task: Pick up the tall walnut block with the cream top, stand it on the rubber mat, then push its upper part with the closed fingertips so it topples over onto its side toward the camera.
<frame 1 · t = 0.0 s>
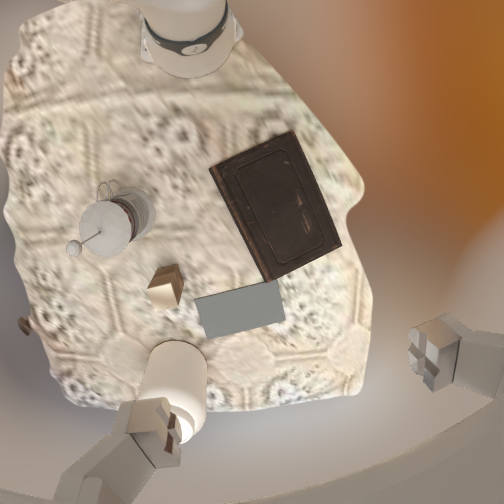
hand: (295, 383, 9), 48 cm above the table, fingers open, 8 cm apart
white lidded jar: (177, 363, 63), on the table
rubber mat: (240, 310, 61), on the table
walnut block: (170, 276, 58), on the table
hardcover book: (277, 206, 57), on the table
french press: (128, 209, 54), on the table
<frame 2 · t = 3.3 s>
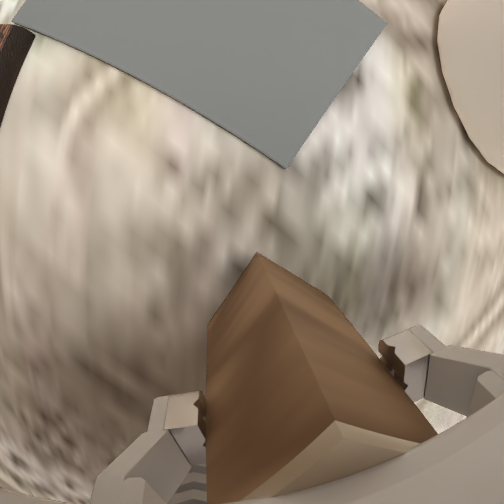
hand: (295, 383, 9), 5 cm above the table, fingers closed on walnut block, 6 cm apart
white lidded jar: (500, 83, 12), on the table
walnut block: (269, 311, 14), on the table, touching gripper
french press: (200, 481, 18), on the table
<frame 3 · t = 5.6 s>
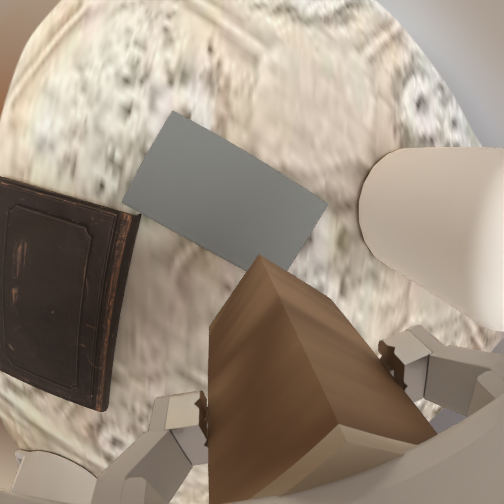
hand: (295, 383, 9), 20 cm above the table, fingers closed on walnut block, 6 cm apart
white lidded jar: (405, 208, 30), on the table
rubber mat: (225, 200, 27), on the table
walnut block: (270, 313, 14), point 15 cm above the table, touching gripper
hardcover book: (52, 299, 28), on the table
when the fingers open (6 cm above the table, at t = 7.8 s): walnut block stays where it is, resting on rubber mat.
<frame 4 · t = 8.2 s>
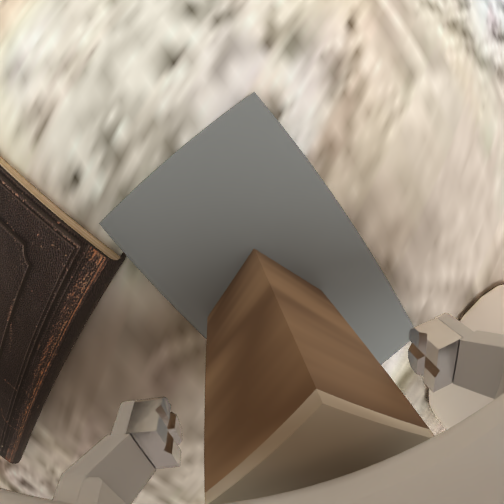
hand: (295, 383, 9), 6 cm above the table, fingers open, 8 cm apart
white lidded jar: (482, 351, 19), on the table
rubber mat: (282, 287, 15), on the table
walnut block: (265, 304, 15), resting on rubber mat
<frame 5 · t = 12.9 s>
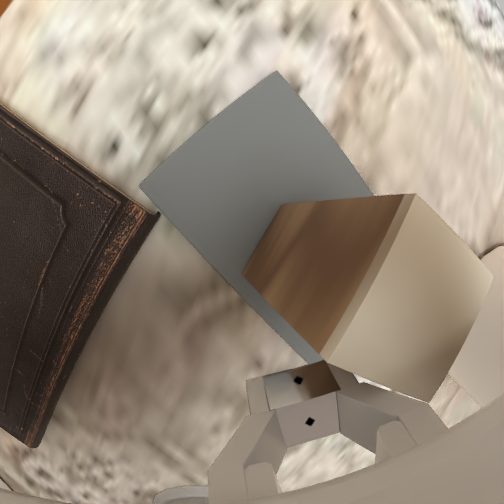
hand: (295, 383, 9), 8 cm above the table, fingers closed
white lidded jar: (488, 312, 21), on the table
rubber mat: (306, 242, 17), on the table
walnut block: (294, 258, 16), point 1 cm above the table, tilted 10°, touching rubber mat
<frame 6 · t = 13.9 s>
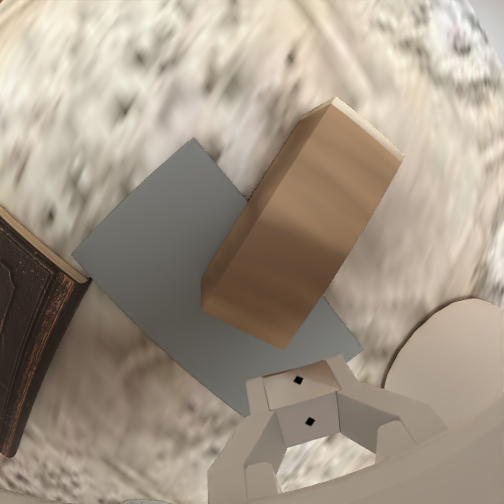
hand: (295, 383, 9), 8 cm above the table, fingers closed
white lidded jar: (441, 363, 21), on the table
rubber mat: (227, 308, 17), on the table
walnut block: (238, 312, 15), point 3 cm above the table, tilted 93°, touching rubber mat
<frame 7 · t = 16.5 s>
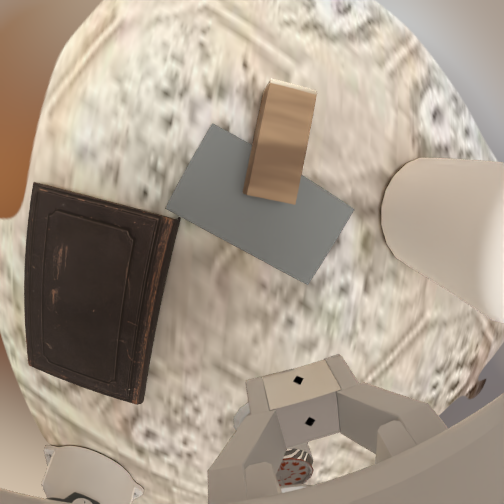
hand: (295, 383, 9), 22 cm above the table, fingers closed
white lidded jar: (423, 212, 32), on the table
rubber mat: (262, 206, 30), on the table
walnut block: (267, 198, 27), point 3 cm above the table, tilted 93°, touching rubber mat
hardcover book: (91, 298, 32), on the table
french press: (266, 423, 38), on the table
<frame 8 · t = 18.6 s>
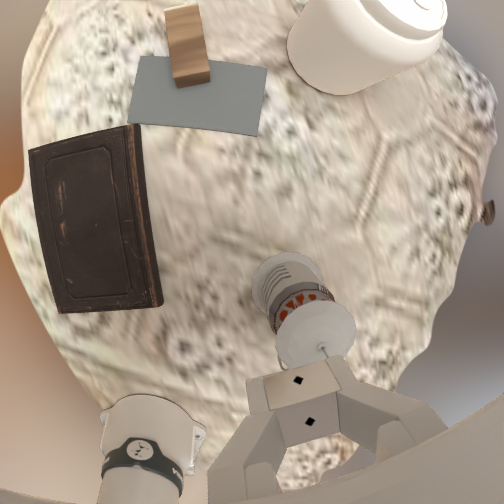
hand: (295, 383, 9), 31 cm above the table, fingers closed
white lidded jar: (330, 54, 35), on the table
rubber mat: (196, 93, 34), on the table
walnut block: (192, 79, 32), point 3 cm above the table, tilted 93°, touching rubber mat
hardcover book: (94, 223, 38), on the table
french press: (285, 292, 43), on the table
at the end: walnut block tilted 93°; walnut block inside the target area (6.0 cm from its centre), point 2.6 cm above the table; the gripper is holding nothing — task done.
